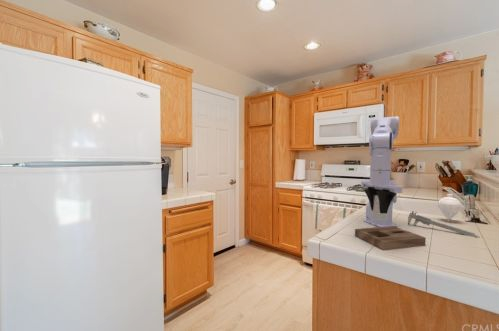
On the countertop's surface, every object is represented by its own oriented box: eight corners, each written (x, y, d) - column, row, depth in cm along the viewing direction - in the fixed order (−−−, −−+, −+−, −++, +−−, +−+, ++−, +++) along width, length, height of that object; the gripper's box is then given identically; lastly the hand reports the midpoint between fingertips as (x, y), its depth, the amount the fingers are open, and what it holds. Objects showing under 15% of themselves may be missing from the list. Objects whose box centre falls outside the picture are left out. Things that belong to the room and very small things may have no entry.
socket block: (354, 236, 77) (355, 228, 77) (392, 232, 81) (392, 225, 81) (383, 250, 66) (383, 241, 65) (425, 245, 69) (425, 237, 69)
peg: (372, 218, 73) (373, 194, 73) (380, 218, 74) (380, 194, 74) (379, 221, 70) (380, 196, 70) (387, 220, 71) (388, 195, 71)
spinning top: (466, 224, 91) (467, 195, 91) (448, 224, 91) (449, 195, 91) (449, 219, 99) (450, 192, 99) (432, 219, 99) (433, 192, 98)
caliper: (407, 225, 90) (408, 210, 90) (408, 225, 91) (408, 209, 91) (479, 238, 76) (480, 220, 76) (479, 237, 77) (480, 220, 77)
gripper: (354, 169, 77) (353, 207, 78) (389, 171, 63) (387, 218, 64) (371, 168, 79) (369, 206, 80) (408, 171, 65) (407, 217, 66)
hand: (379, 211), depth 72 cm, fingers closed on peg, 3 cm apart
